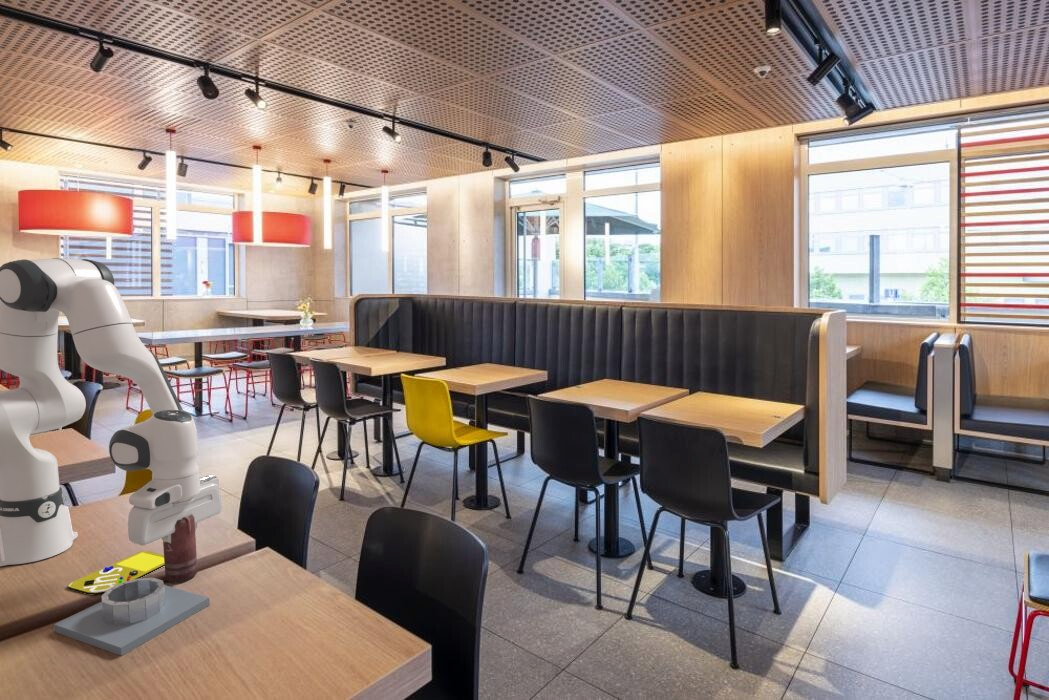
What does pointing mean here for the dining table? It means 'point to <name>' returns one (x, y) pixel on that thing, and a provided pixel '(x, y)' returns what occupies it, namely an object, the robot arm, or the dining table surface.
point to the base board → (128, 637)
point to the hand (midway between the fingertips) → (180, 547)
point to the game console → (118, 573)
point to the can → (181, 552)
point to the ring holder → (133, 601)
